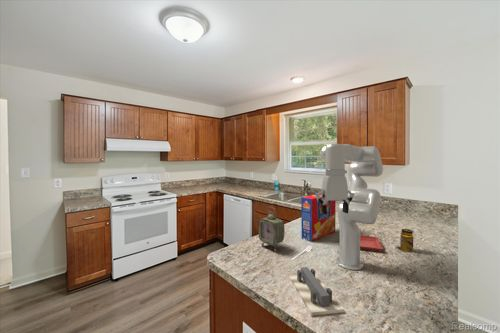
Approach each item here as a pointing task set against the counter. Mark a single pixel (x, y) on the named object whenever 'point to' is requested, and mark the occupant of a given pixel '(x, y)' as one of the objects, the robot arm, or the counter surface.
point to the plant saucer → (370, 243)
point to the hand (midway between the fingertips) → (334, 213)
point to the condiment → (406, 241)
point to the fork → (303, 252)
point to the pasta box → (317, 218)
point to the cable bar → (315, 287)
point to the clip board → (314, 296)
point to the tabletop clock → (271, 229)
